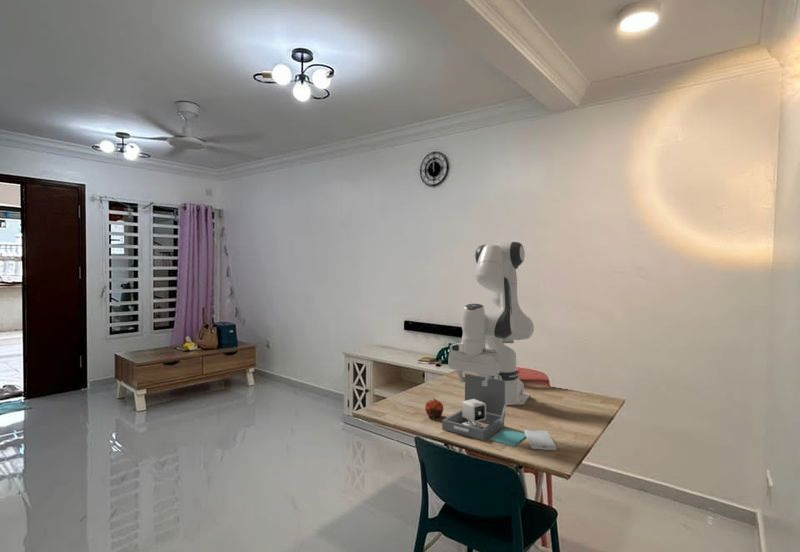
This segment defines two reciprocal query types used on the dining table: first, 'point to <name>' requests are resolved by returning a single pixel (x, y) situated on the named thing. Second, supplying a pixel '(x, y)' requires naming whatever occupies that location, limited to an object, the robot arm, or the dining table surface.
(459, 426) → the equipment case
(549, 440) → the hard drive
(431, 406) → the pomegranate
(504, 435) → the teal mat
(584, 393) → the dining table surface
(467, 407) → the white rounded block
